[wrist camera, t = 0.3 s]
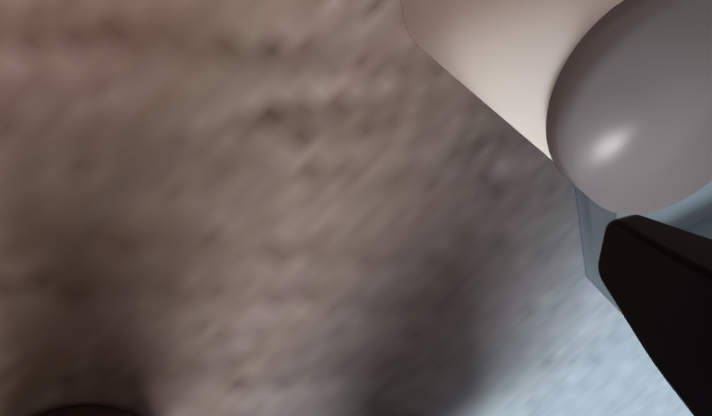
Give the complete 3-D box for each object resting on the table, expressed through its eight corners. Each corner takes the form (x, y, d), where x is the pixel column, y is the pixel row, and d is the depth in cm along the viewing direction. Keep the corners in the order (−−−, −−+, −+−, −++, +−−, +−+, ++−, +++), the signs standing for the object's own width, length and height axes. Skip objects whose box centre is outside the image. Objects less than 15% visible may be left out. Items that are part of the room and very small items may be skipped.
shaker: (544, 27, 24) (769, 156, 16) (420, 86, 24) (587, 248, 16) (524, -118, 21) (794, -47, 13) (380, -52, 20) (564, 63, 12)
